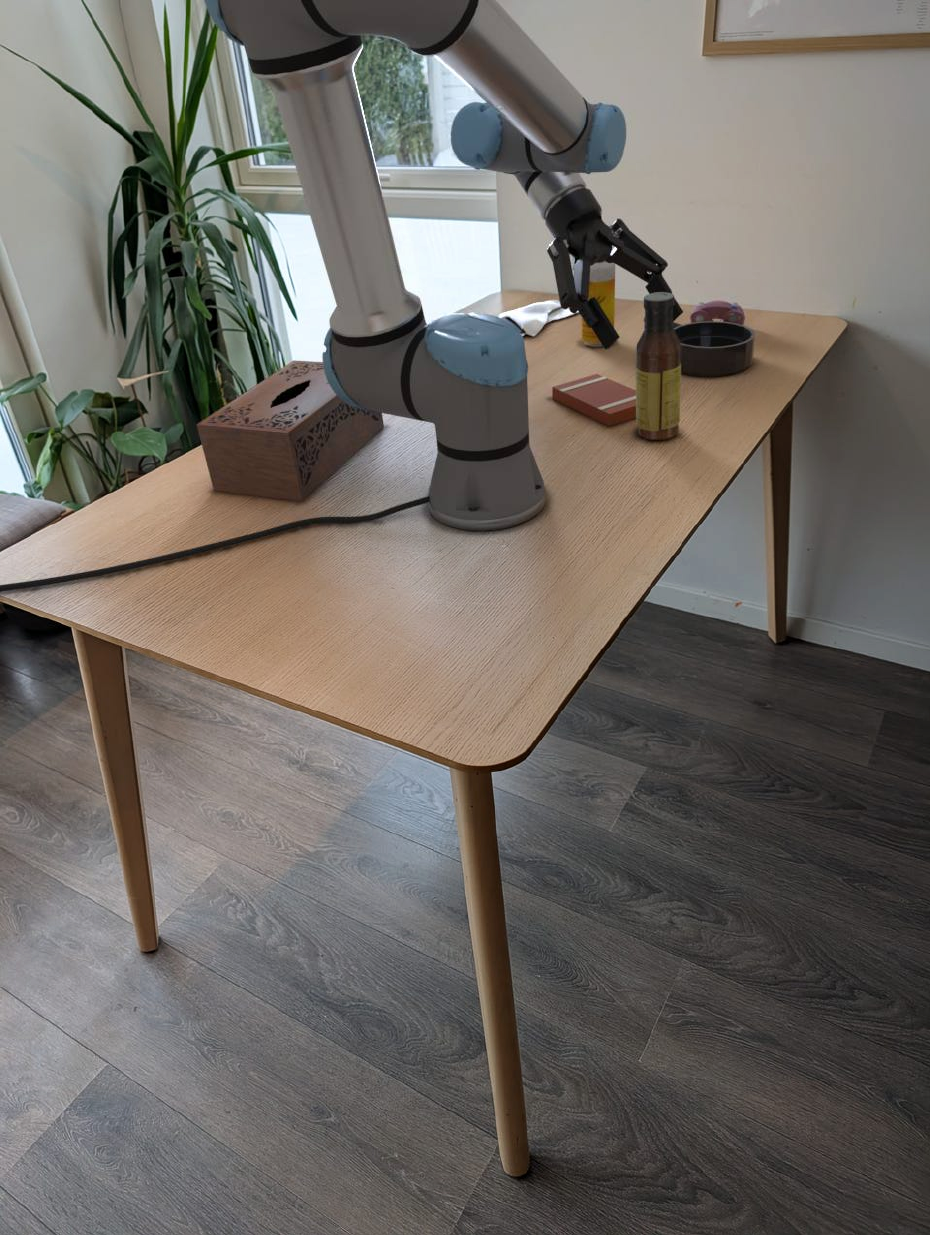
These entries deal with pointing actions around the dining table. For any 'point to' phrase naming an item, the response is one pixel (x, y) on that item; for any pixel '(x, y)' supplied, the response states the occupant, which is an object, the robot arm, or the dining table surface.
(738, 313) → the video game controller
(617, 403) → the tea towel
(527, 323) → the cloth
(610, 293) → the beer can
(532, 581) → the dining table surface
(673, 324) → the pan handle
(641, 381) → the sauce bottle
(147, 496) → the dining table surface
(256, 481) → the tissue box cover
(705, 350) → the pan
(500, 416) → the robot arm
